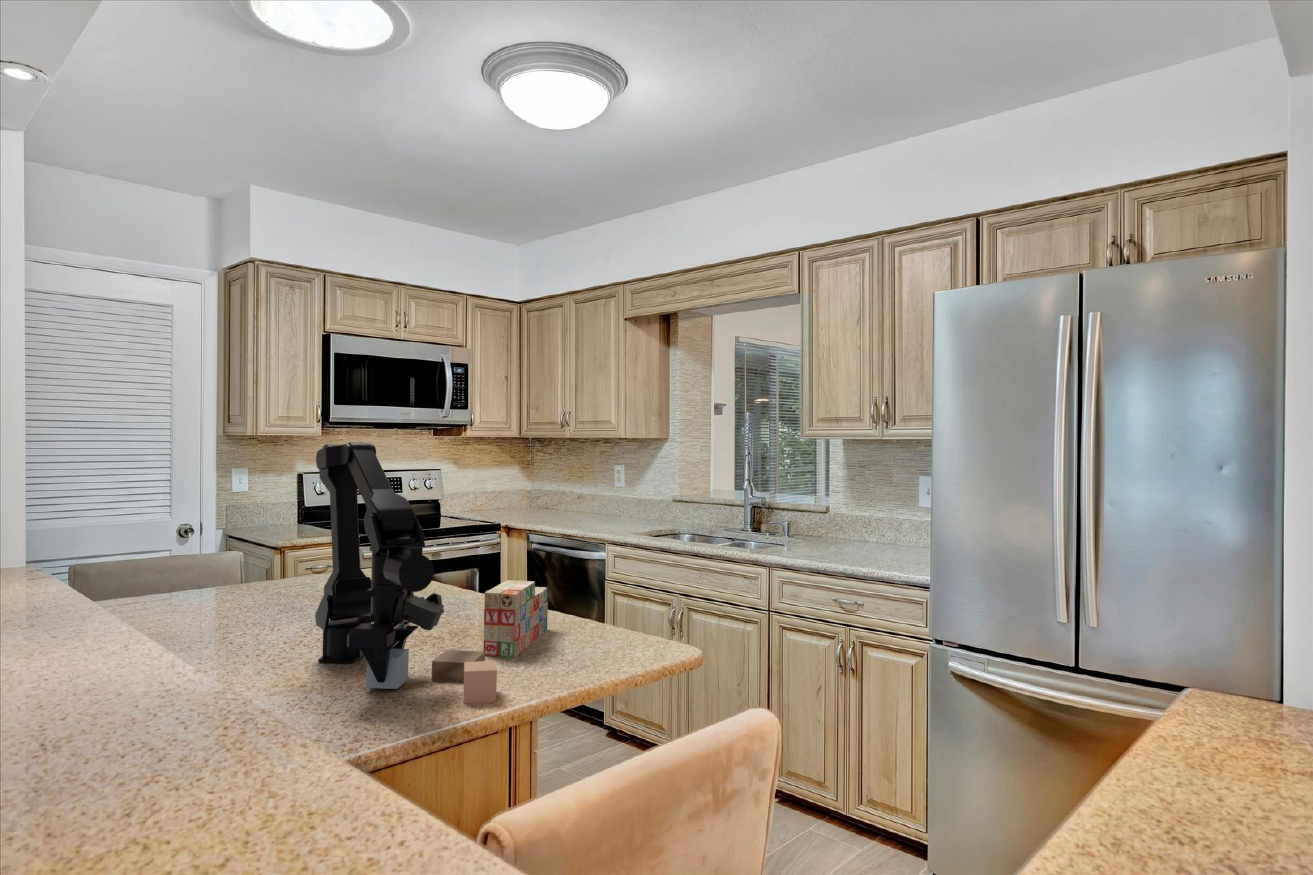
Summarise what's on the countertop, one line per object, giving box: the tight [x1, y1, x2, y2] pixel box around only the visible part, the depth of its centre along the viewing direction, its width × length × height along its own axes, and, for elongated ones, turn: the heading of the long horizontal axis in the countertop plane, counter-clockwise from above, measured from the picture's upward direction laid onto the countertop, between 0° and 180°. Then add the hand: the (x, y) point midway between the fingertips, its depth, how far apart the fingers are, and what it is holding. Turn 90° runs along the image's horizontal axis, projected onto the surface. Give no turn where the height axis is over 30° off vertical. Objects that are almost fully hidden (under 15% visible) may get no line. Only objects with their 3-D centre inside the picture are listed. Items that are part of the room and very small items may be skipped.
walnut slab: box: [431, 649, 486, 683], centre depth 131 cm, size 7×7×4 cm
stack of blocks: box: [482, 579, 549, 658], centre depth 152 cm, size 21×6×12 cm, turn 171°
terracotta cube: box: [462, 660, 498, 704], centre depth 120 cm, size 5×5×5 cm
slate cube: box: [365, 648, 410, 690], centre depth 123 cm, size 5×5×5 cm
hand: (387, 676), depth 123 cm, fingers closed on slate cube, 5 cm apart
